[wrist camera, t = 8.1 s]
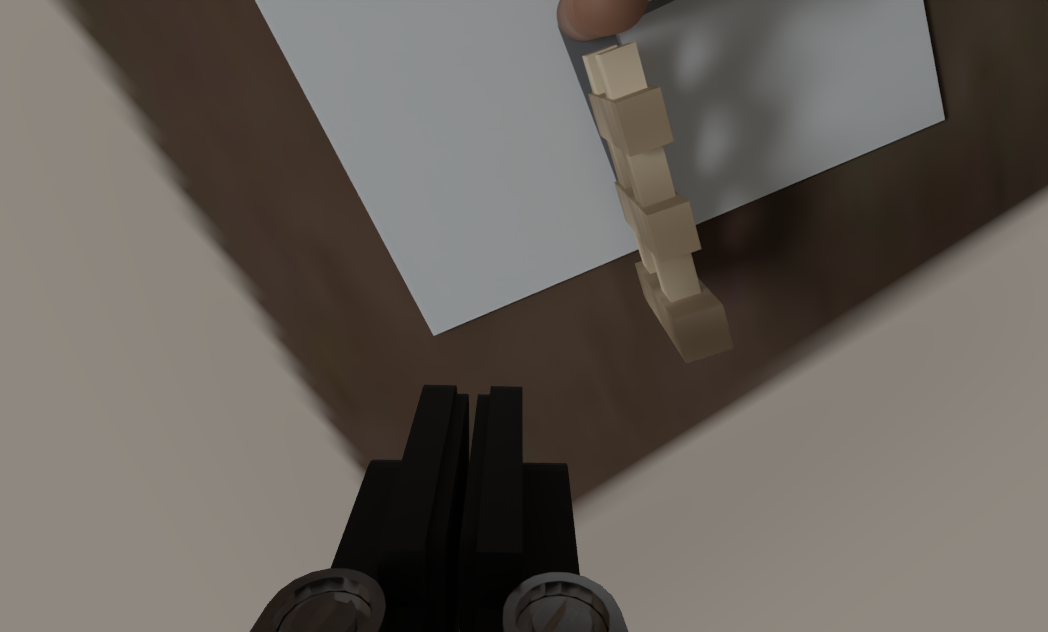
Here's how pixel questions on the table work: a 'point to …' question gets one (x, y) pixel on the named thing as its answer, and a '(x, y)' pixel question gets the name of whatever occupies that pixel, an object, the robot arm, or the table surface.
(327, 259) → the table surface
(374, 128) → the card
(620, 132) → the beige stepped wooden piece
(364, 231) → the table surface
